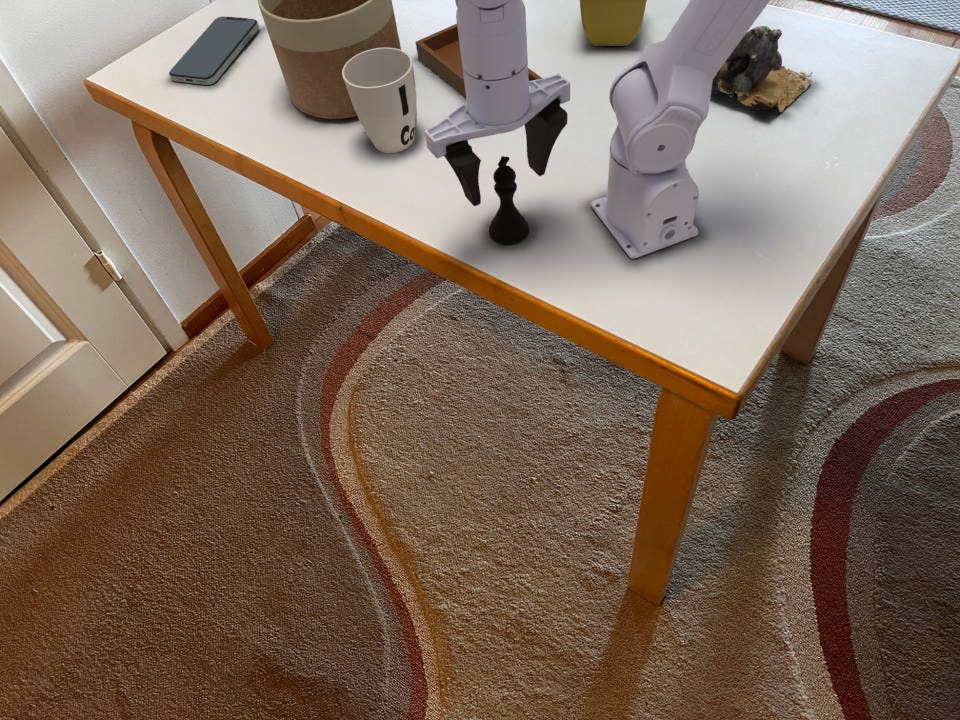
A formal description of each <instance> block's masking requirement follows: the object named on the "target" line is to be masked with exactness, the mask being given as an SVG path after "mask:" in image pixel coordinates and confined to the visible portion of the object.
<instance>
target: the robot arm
mask: <svg viewBox="0 0 960 720" xmlns="http://www.w3.org/2000/svg"><path fill="white" fill-rule="evenodd" d="M454 1H455V5H456V13H455V20H456V24H457V28H458V36H459V44H460V52H461V60H462V68H463V76H464V84H465V92H466V98H465V100H466V101H465V102H464V103H463V104H461V105H460V106H459V107H457V108H456V109H455V110H453V112H451V113H450V114H449V115H447V116H446V117H445V118H444V119H442V120H441V121H439V122H438V123H436V124H435V125H433V126H432V127H429V128H427V129H425V130H424V137H425V142H426V147H427V149H428V150H429V152H430V153H431V154H432V155H433V156H434V157H435V159H440V158H442V157H444V158H445V160H446V161H447V162H448V164H449V166H450V167H451V169H452V170H453V172H454V174H455V175H456V177H457V179H458V181H459V183H460V186H461V188H462V191H463V194H464V197H465V198H466V199H467V200H468V202H470V204H471V205H472V206H473V207H477V206H479V205H481V203H482V202H481V200H482V195H481V189H480V182H479V177H480V176H479V175H480V168H481V167H480V166H481V162H482V160H481V158H480V157H479V156H478V155H477V154H476V153H475V152H474V151H473V146H472V145H470V144H469V141H470V140H474V139H480V138H484V137H491V136H495V135H501V134H506V133H510V132H513V131H515V130H518V129H520V128H522V127H523V126H524V131H525V139H526V158H527V163H528V167H529V168H530V169H531V171H533V172H534V173H535V174H536V175H537V176H538V177H543V176H544V175H545V173H546V170H547V166H548V163H549V159H550V157H551V153H552V151H553V148H554V145H555V144H556V141H557V140H558V138H559V136H560V134H561V133H562V131H563V130H564V128H565V127H566V126H567V125H568V112H567V111H566V110H565V109H564V108H563V107H562V106H561V105H562V104H565V103H568V102H570V101H571V82H570V81H569V80H568V79H567V78H565V77H564V76H562V74H560V73H556V74H553V75H551V76H547V77H544V78H543V77H542V78H543V79H538V80H533V81H529V77H528V68H529V59H528V36H527V15H526V14H527V13H526V12H527V11H526V5H525V3H524V1H523V0H454ZM770 2H771V0H689V2H688V4H687V5H686V6H685V8H684V10H683V11H682V13H681V14H680V16H679V17H678V19H677V20H676V22H675V24H674V25H673V27H672V28H671V29H670V31H669V33H668V34H667V36H666V37H665V39H664V40H661V41H657V42H652V43H650V44H647V45H646V46H645V47H644V49H643V50H642V52H641V54H640V55H639V57H638V58H637V59H635V61H633V62H632V63H631V64H630V65H628V66H627V67H625V68H624V69H623V70H621V71H620V72H619V73H618V75H617V76H616V77H615V78H614V80H613V81H612V83H611V86H610V89H609V94H608V95H609V96H608V97H609V98H608V99H609V103H610V106H611V108H612V110H613V112H614V114H615V117H616V122H617V125H616V127H615V130H614V132H613V134H612V136H611V139H610V142H609V143H610V144H609V158H608V174H607V176H608V177H607V188H606V189H607V190H606V196H603V197H599V198H596V199H594V200H592V201H591V202H590V207H591V208H592V210H593V211H594V212H595V214H596V215H597V217H598V218H599V220H601V221H602V223H603V224H604V226H605V227H606V228H607V229H608V231H609V232H610V233H611V235H612V236H613V238H615V240H616V241H617V243H618V244H619V245H620V247H621V248H622V249H623V251H624V252H625V253H626V254H627V257H629V258H630V259H638V258H640V257H643V256H645V255H649V254H651V253H653V252H656V251H659V250H662V249H664V248H667V247H670V246H672V245H675V244H678V243H681V242H683V241H686V240H689V239H691V238H694V237H696V236H698V234H699V229H698V228H697V227H696V225H694V221H695V217H696V211H697V208H698V207H697V206H698V201H699V197H700V196H699V195H700V191H699V187H698V185H697V183H696V182H695V180H694V179H693V177H692V176H691V174H690V172H689V170H688V167H687V162H686V159H687V158H688V157H689V155H691V152H692V150H693V149H694V147H695V143H696V138H697V134H698V131H699V129H700V127H701V125H703V123H704V122H705V120H706V119H707V118H708V116H709V111H710V104H711V95H712V90H713V89H712V82H713V78H714V76H715V75H716V74H717V72H718V71H719V69H720V68H721V67H722V65H723V64H724V63H725V61H726V60H727V59H728V57H729V56H730V54H731V53H732V52H733V50H734V49H735V48H736V46H737V45H738V44H739V42H740V41H741V39H742V38H743V37H744V35H745V34H746V33H747V32H748V31H750V30H751V29H750V28H751V27H752V26H753V25H754V23H755V22H756V20H757V19H758V18H759V17H760V15H761V14H762V12H764V10H765V8H766V7H767V5H768V4H769V3H770Z"/></svg>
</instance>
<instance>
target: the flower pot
mask: <svg viewBox="0 0 960 720" xmlns="http://www.w3.org/2000/svg"><path fill="white" fill-rule="evenodd" d="M647 1H648V0H579V9H580V19H581V24H582V29H583V32H584V34H585V36H586V38H587V40H588V41H589V43H590V44H591V45H592V46H594V47H611V46H612V47H615V46H616V47H617V46H618V47H620V46H622V47H623V46H624V47H626V46H630V45H631V44H632V43H633V41H634V40H635V39H636V37H637V35H638V33H639V32H640V29H641V27H642V24H643V21H644V17H645V12H646V7H647V6H646V5H647Z"/></svg>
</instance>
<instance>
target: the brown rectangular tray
mask: <svg viewBox="0 0 960 720" xmlns="http://www.w3.org/2000/svg"><path fill="white" fill-rule="evenodd" d="M415 47H416V53H417V60H419V61H420V62H421V63H422V64H424V65H425V66H426V67H428V68H429V69H430V70H431V71H432V72H434V74H436V75H437V76H438V77H440V78H441V79H442V80H443V81H444V82H446V83H447V84H448V85H449V86H450V87H452V88H453V89H454V90H455V91H457V92H458V93H459V94H460V95H461V96H463V97H464V98H465V99H466V92H465V84H464V76H463V68H462V60H461V52H460V44H459V36H458V28H457V23H455V24H453V25H450V26H448V27H446V28H443V29H440V30H439V31H436V32H433V33H432V34H429V35H428V36H425V37H423V38H420V39H419V40H416V41H415ZM528 77H529V81H533V80H538V79H543V77H541V76H540V75H539V74H538V73H536V72H535V71H533V70H532V69H530V68H529V67H528Z"/></svg>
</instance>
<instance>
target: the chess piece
mask: <svg viewBox="0 0 960 720" xmlns="http://www.w3.org/2000/svg"><path fill="white" fill-rule="evenodd" d="M510 159H511V158H510V157H509V156H505V155H502V156H501V157H500V160H499V162H498V163H497V168H496V169H495V170H494V172H493V174H492V178H493V181H494V185H493V190H494V193H496V195H497V196H498V199H499V207H498V209H497V211H496V214H495V215H494V217H493V218H492V219H491V222H490V224H489V227H488V234H489V237H490V238H491V240H492V241H493V242H495V243H497V244H498V245H503V246H512V245H517V244H520V243H521V242H523V241H525V239H526V238H527V237H528V235H529V233H530V225H529V222H528V221H527V219H526V218H525V216H524V215H523V214H521V212H520V210H519V209H518V208H517V207H516V205H515V202H514V195H515V193H516V191H517V188H518V185H517V183H516V178H517V174H516V171H515V170H514V169H513V167H511V166H509V165H507V164H508V163H509V161H510Z"/></svg>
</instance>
